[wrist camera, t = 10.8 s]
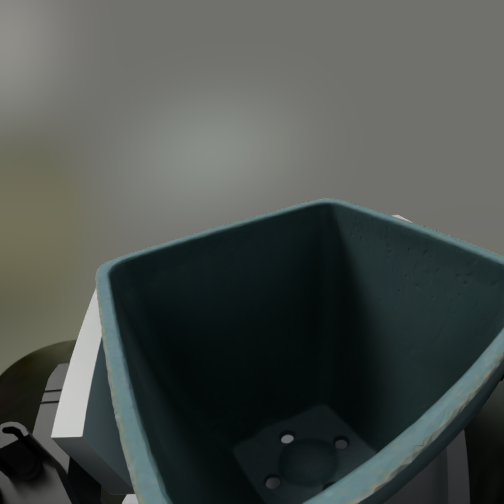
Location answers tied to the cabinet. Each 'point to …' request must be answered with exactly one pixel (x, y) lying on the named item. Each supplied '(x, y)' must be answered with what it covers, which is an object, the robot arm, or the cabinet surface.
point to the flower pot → (298, 355)
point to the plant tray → (418, 478)
